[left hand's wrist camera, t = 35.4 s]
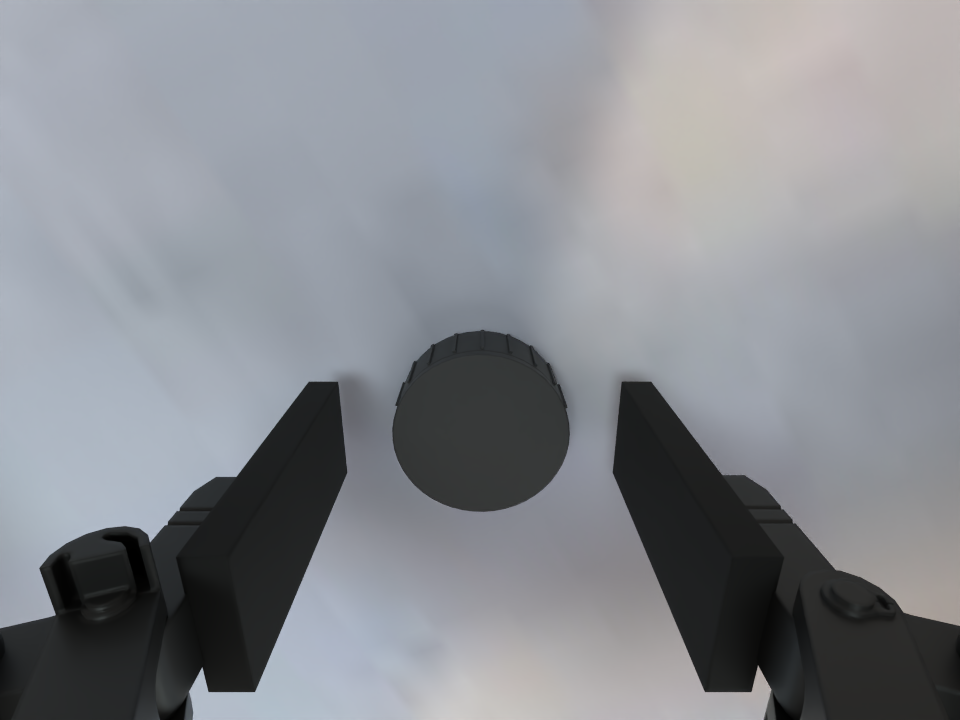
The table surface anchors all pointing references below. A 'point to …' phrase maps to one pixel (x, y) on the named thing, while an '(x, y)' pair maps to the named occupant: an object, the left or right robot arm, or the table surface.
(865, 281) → the table surface
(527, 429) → the cap
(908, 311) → the table surface
